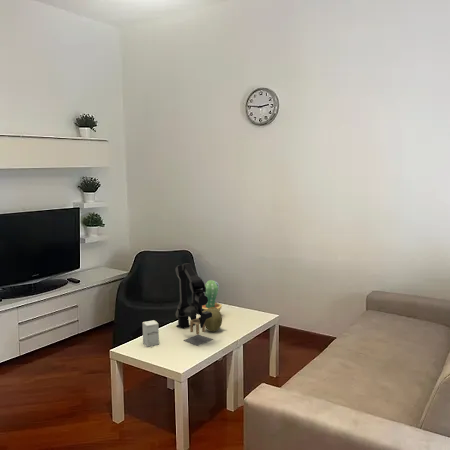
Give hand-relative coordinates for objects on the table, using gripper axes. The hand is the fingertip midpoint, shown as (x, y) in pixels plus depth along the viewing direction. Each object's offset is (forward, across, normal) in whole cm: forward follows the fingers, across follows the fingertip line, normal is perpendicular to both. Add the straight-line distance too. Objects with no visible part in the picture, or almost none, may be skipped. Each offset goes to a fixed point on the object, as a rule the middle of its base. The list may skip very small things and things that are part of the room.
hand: (197, 326), depth 274 cm
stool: (+3, 0, 0) cm, 3 cm away
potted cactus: (+8, -23, +35) cm, 43 cm away
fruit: (+8, -4, +17) cm, 19 cm away
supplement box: (+8, -17, -21) cm, 28 cm away
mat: (+8, 0, 0) cm, 8 cm away
